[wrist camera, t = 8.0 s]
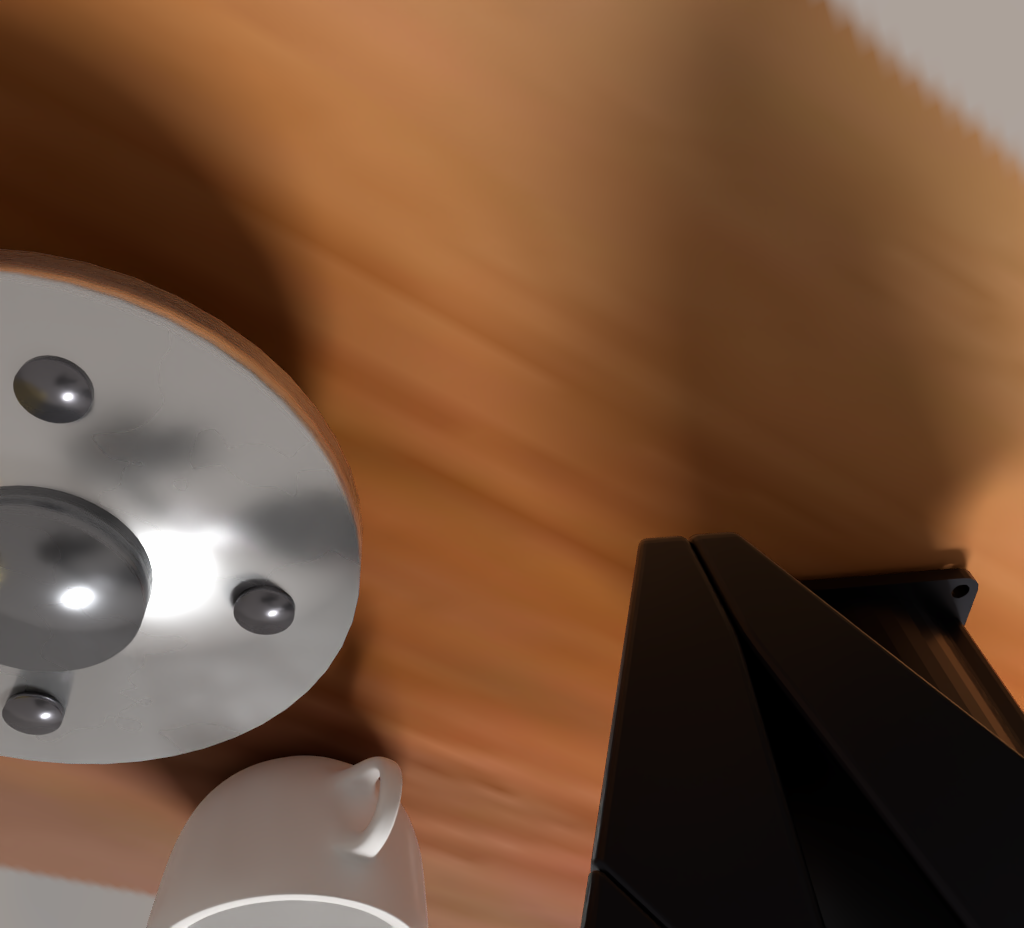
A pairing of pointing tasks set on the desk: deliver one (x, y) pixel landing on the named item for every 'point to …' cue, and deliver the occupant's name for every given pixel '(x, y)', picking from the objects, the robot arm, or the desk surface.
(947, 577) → the robot arm
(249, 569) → the flange plate
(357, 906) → the teacup
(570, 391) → the desk surface
